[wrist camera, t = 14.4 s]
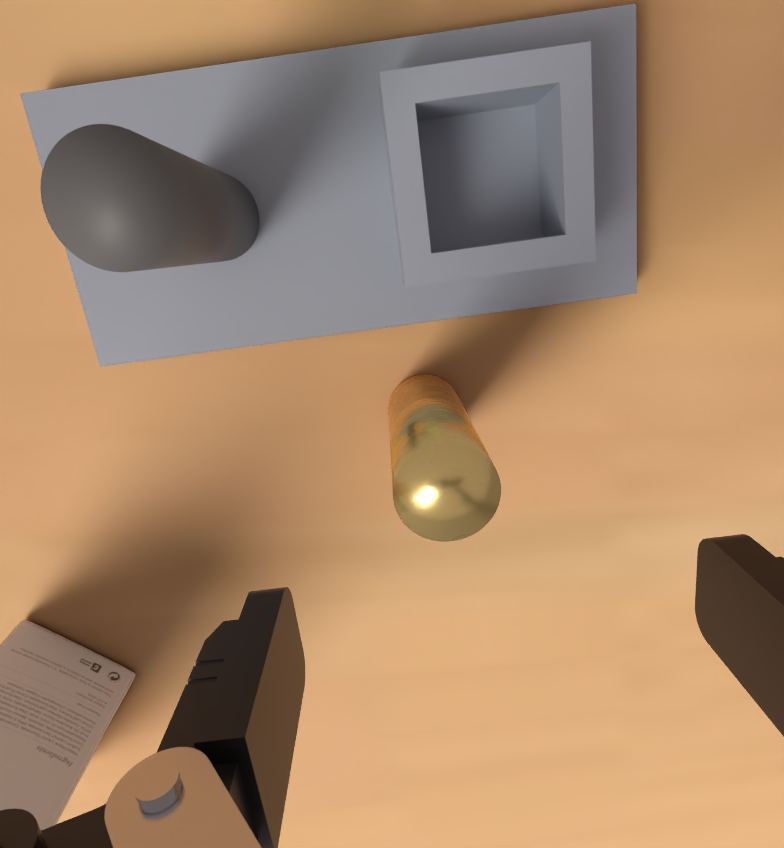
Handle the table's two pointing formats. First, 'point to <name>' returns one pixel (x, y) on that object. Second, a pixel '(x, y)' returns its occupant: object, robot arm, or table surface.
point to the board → (347, 185)
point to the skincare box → (51, 717)
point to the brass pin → (439, 462)
